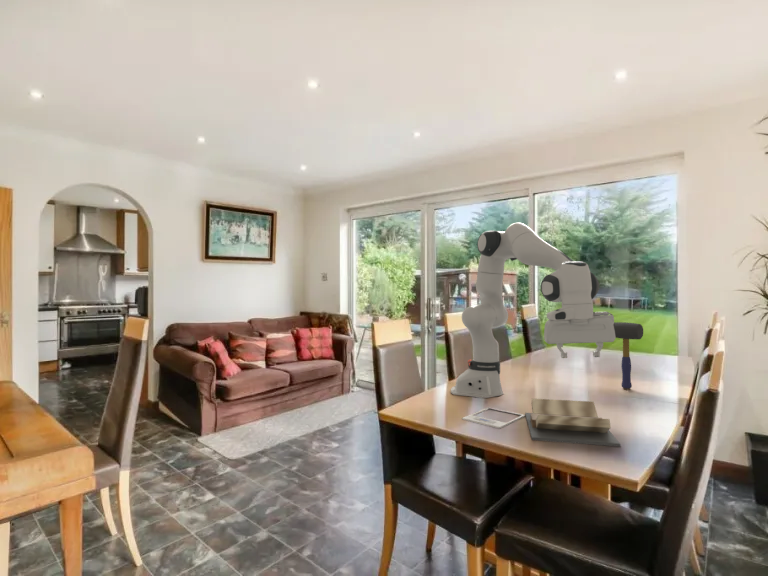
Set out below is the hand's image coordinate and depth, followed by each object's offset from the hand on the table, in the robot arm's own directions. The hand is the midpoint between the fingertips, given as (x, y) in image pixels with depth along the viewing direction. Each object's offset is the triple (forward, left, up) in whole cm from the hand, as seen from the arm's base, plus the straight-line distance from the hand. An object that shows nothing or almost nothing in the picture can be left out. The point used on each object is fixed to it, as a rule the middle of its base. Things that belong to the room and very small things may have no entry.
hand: (580, 357), depth 130 cm
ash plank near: (-3, -3, -21) cm, 22 cm away
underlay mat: (-3, +5, -24) cm, 25 cm away
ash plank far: (-3, +13, -21) cm, 25 cm away
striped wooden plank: (-3, +5, -24) cm, 25 cm away
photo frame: (-26, +12, -25) cm, 38 cm away
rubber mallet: (+32, +68, -24) cm, 79 cm away
